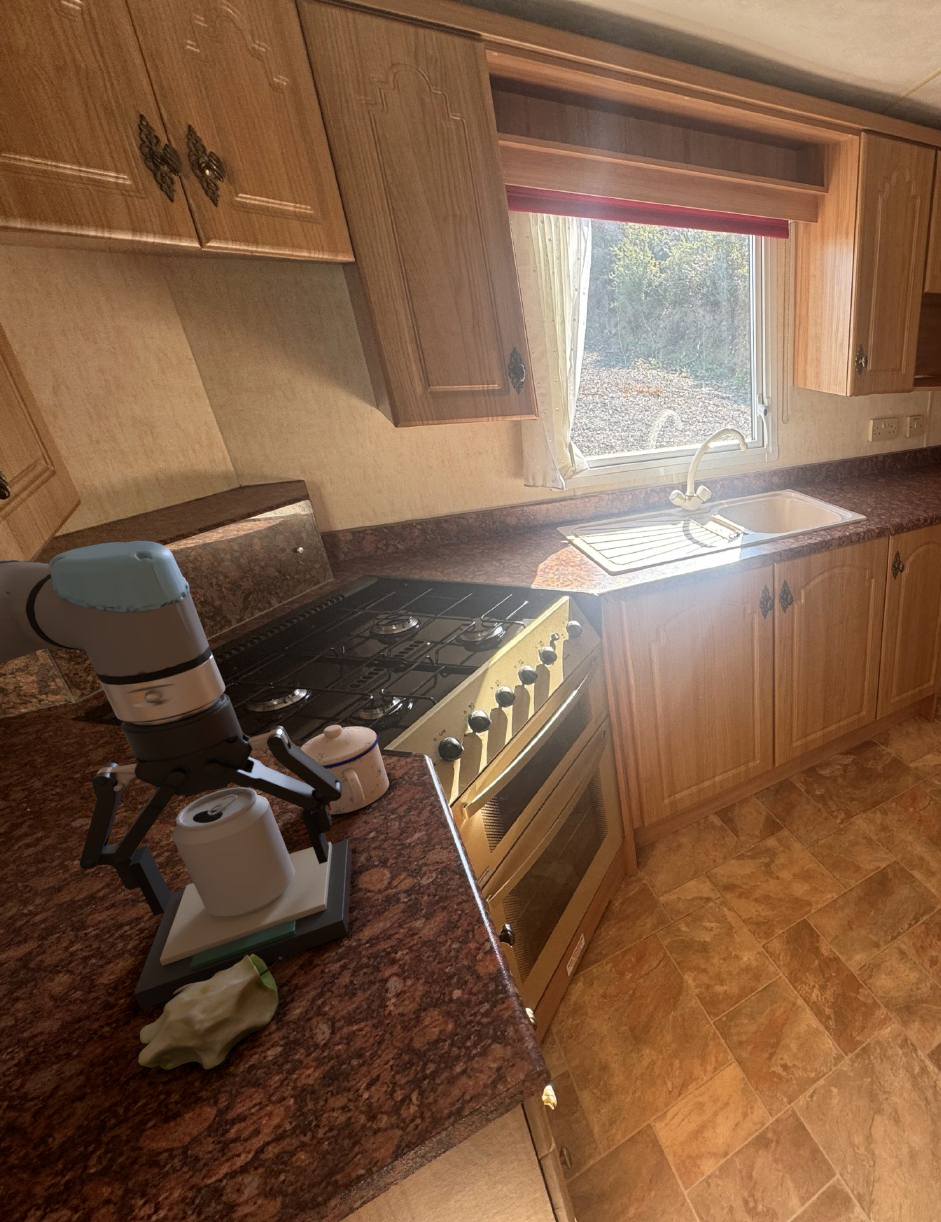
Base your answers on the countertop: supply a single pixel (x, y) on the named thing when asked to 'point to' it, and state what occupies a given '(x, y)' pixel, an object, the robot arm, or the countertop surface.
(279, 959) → the fruit
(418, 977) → the countertop surface
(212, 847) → the can
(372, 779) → the teacup with lid
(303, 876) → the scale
